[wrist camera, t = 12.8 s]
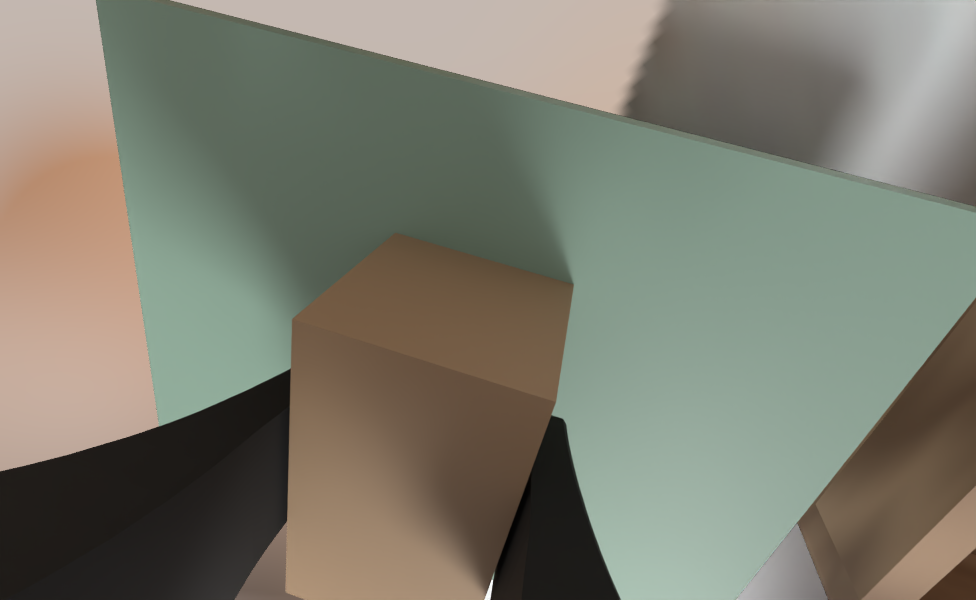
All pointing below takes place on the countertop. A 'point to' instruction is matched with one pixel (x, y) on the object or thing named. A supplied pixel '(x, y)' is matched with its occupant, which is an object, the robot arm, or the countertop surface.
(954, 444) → the wooden box
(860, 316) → the lid
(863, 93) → the countertop surface
